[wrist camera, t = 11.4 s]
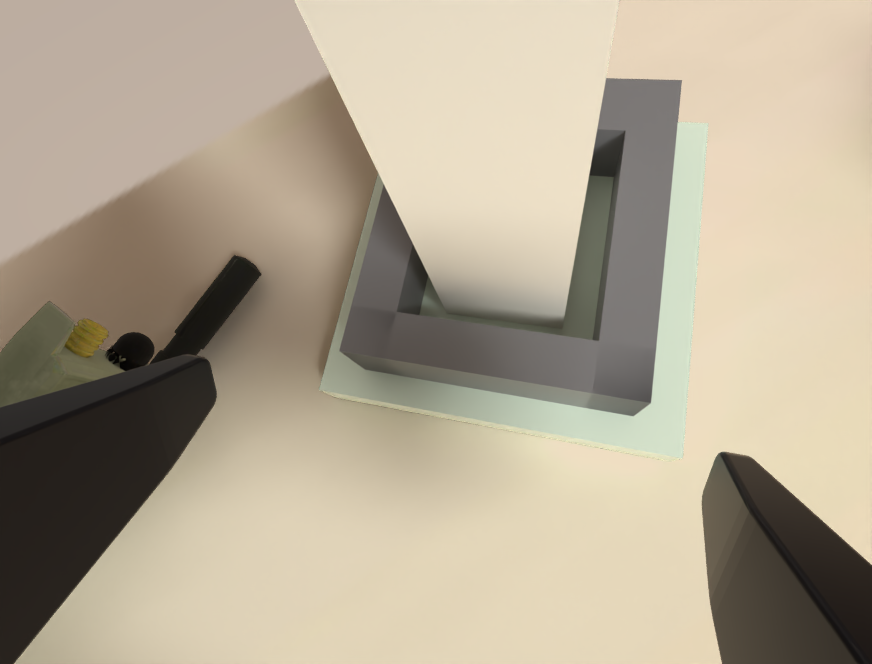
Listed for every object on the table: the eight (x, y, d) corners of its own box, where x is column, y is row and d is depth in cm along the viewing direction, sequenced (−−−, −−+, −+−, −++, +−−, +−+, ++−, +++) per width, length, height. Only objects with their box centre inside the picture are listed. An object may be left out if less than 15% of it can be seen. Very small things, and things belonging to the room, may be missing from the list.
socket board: (670, 461, 16) (710, 452, 13) (334, 397, 19) (286, 374, 15) (695, 149, 20) (734, 68, 16) (403, 133, 22) (377, 61, 19)
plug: (562, 328, 17) (636, -96, 5) (447, 313, 18) (258, -74, 6) (584, 170, 18) (681, -452, 6) (477, 163, 19) (382, -391, 7)
